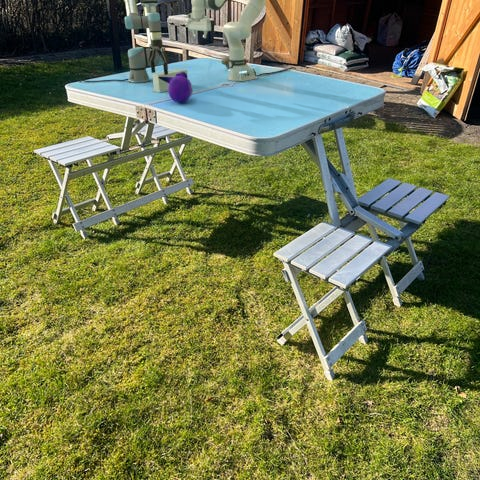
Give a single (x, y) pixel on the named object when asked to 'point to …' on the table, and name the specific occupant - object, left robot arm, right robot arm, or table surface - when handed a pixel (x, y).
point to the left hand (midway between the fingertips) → (159, 73)
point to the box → (162, 85)
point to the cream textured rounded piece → (226, 62)
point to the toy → (178, 87)
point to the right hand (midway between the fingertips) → (200, 37)
